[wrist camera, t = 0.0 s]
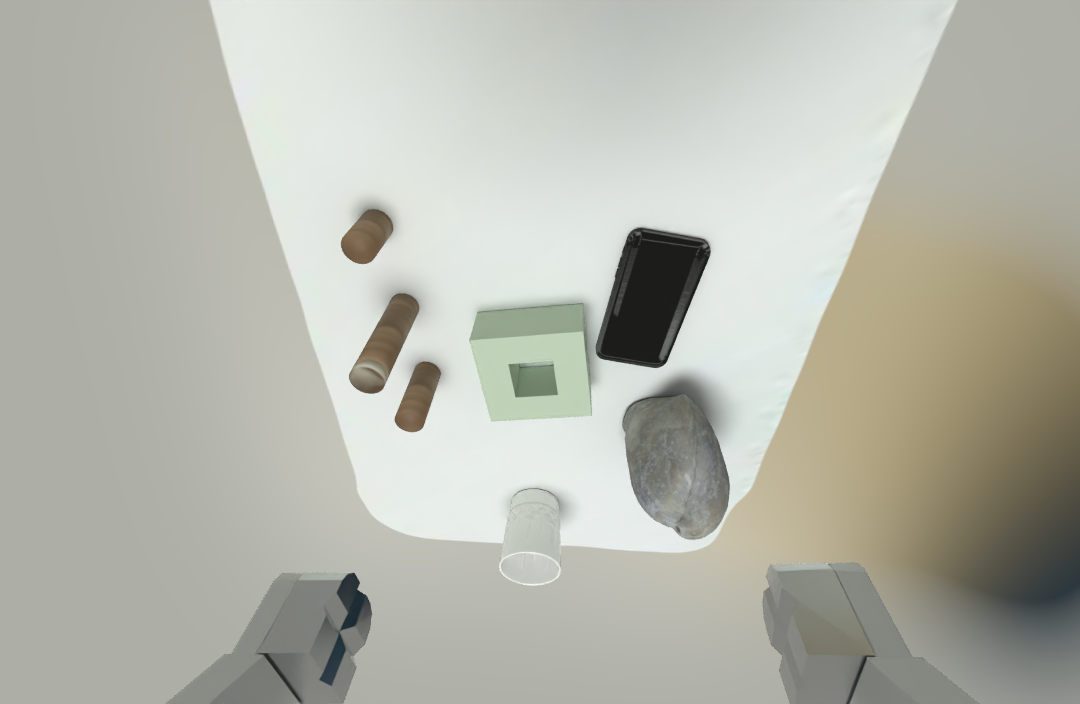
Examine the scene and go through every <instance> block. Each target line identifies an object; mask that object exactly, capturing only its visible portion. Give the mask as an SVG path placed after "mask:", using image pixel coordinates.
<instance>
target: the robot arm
mask: <svg viewBox="0 0 1080 704" xmlns="http://www.w3.org/2000/svg"><path fill="white" fill-rule="evenodd" d="M766 576H767V580H768V583H769V586H770V587H769V588H768V589H766V590H765V591H764V595H763V613H764V620H765V624H766V629H767V632H768V636H769V639H770V642H771V645H772V646H773V647H774V648H775V649H776V650H777V651H778V652H779V653H780V654H781V655H782V660H781V665H780V669H779V671H780V674H781V678H782V681H783V684H784V687H785V690H786V693H787V696H788V699H789V702H790V704H979V703H978V702H977V701H975V700H974V699H973V698H972V697H971V696H969V695H968V694H967V693H966V692H964V691H963V690H962V689H961V688H959V687H958V686H957V685H956V684H954V683H953V682H952V681H951V680H950V679H948V678H947V677H946V676H945V675H943V674H942V673H941V672H940V671H939V670H937V669H936V668H935V667H933V666H932V665H931V664H930V663H929V662H927V661H926V660H925V659H924V658H922V657H912V655H911V653H910V651H909V649H908V648H907V646H906V644H905V642H904V640H903V639H902V637H901V635H900V633H899V631H898V629H897V628H896V626H895V624H894V622H893V620H892V618H891V616H890V615H889V613H888V611H887V609H886V607H885V606H884V604H883V602H882V600H881V598H880V596H879V595H878V593H877V591H876V589H875V587H874V585H873V584H872V582H871V580H870V578H869V576H868V574H867V573H866V571H865V569H864V568H863V567H862V566H861V565H859V564H858V563H833V564H826V563H806V564H777V565H770V566H769V568H768V570H767V575H766ZM359 584H360V582H359V580H358V578H357V576H356V575H355V573H282V574H281V575H280V576H278V577H277V578H276V579H275V580H274V581H273V583H272V585H271V586H270V588H269V590H268V592H267V593H266V595H265V597H264V598H263V600H262V602H261V604H260V605H259V607H258V609H257V610H256V612H255V614H254V616H253V617H252V619H251V621H250V622H249V624H248V626H247V628H246V629H245V631H244V633H243V635H242V636H241V638H240V640H239V641H238V643H237V645H236V647H235V648H234V650H233V652H232V654H224V655H223V656H222V657H221V658H219V659H218V660H217V661H216V662H215V663H213V664H212V665H211V666H210V667H209V668H208V669H206V670H205V671H204V672H203V673H201V674H200V675H199V676H198V677H197V678H195V679H194V680H193V681H192V682H191V683H190V684H188V685H187V686H186V687H185V688H184V689H182V690H181V691H180V692H179V693H178V694H176V695H175V696H174V697H173V698H172V699H170V700H169V701H168V702H167V703H166V704H343V702H344V700H345V697H346V694H347V692H348V689H349V686H350V684H351V681H352V678H353V676H354V673H355V670H356V664H355V660H354V655H355V654H356V653H357V652H358V651H359V650H360V648H362V647H363V646H364V645H365V642H366V639H367V636H368V634H369V631H370V625H371V616H372V611H371V604H370V602H369V600H368V597H367V596H366V595H365V594H363V593H362V592H360V591H359V590H357V589H358V587H359Z"/></svg>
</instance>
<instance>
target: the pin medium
mask: <svg viewBox="0 0 1080 704" xmlns="http://www.w3.org/2000/svg"><path fill="white" fill-rule="evenodd" d="M440 375H441V372H440V370H439V368H438V367H437V366H436V365H434V364H432V363H429V362H422V363H419V364H418V365H417V366H416V367H415V369H414V372H413V374H412V377H411V379H410V382H409V384H408V387H407V389H406V392H405V394H404V396H403V399H402V401H401V404H400V406H399V409H398V411H397V414H396V416H395V423H396V424H397V426H398V427H399V428H401V429H402V430H405V431H408V432H417V431H419V430H421V429H422V428H423V426H424V423H425V420H426V417H427V414H428V411H429V408H430V405H431V402H432V399H433V396H434V393H435V390H436V388H437V385H438V382H439V379H440Z"/></svg>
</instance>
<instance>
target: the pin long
mask: <svg viewBox="0 0 1080 704" xmlns="http://www.w3.org/2000/svg"><path fill="white" fill-rule="evenodd" d="M418 312H419V305H418V303H417V301H416V300H415V299H414V298H413V297H412V296H410V295H407V294H397V295H395V296H394V297H393V298H392V299H391V301H390V303H389V305H388V306H387V308H386V310H385V312H384V314H383V315H382V317H381V319H380V321H379V322H378V324H377V326H376V328H375V330H374V331H373V333H372V335H371V337H370V338H369V340H368V342H367V344H366V346H365V347H364V349H363V351H362V353H361V354H360V356H359V358H358V360H357V362H356V363H355V365H354V366H353V368H352V370H351V372H350V374H349V380H350V382H351V384H352V385H353V386H354V387H355V388H356V389H358V390H359V391H361V392H364V393H369V394H374V393H378V392H380V391H381V390H382V389H383V388H384V386H385V384H386V382H387V379H388V377H389V375H390V372H391V370H392V368H393V366H394V364H395V362H396V359H397V357H398V355H399V353H400V351H401V349H402V346H403V344H404V342H405V340H406V338H407V336H408V333H409V331H410V329H411V327H412V325H413V323H414V320H415V318H416V316H417V314H418Z"/></svg>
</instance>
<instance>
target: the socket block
mask: <svg viewBox="0 0 1080 704" xmlns="http://www.w3.org/2000/svg"><path fill="white" fill-rule="evenodd" d="M469 341H470V344H471V348H472V352H473V355H474V359H475V363H476V367H477V370H478V374H479V378H480V382H481V385H482V389H483V393H484V396H485V400H486V404H487V408H488V411H489V415H490V419H491V421H507V420H525V419H543V418H561V417H579V416H592V408H591V383H590V373H589V363H588V352H587V342H586V332H585V322H584V312H583V304H571V305H559V306H547V307H535V308H523V309H511V310H500V311H488V312H477V316H476V319H475V323H474V326H473V330H472V333H471V337H470V340H469ZM547 361H553V364H554V365H552V366H537V367H523V368H520V366H519V363H533V362H547Z"/></svg>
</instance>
